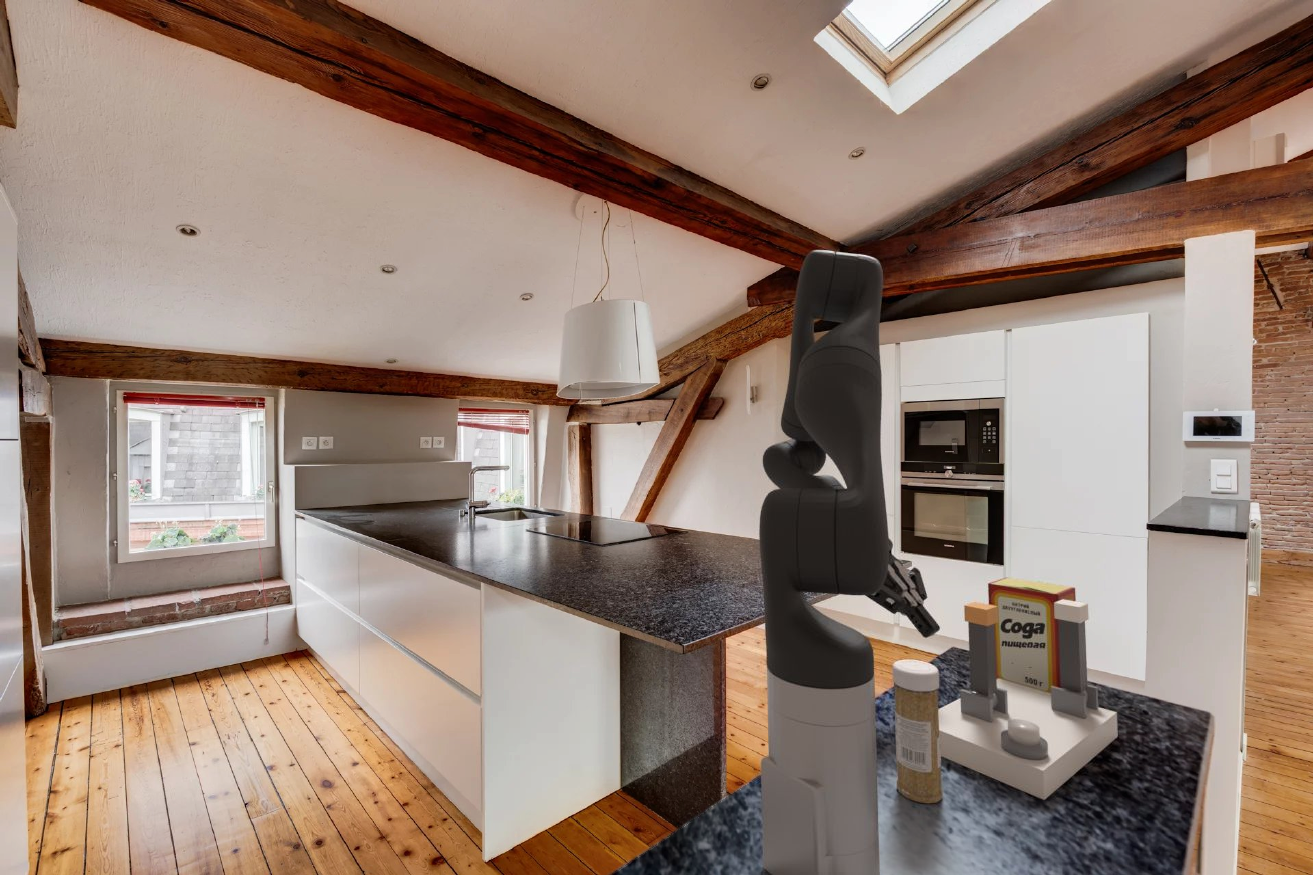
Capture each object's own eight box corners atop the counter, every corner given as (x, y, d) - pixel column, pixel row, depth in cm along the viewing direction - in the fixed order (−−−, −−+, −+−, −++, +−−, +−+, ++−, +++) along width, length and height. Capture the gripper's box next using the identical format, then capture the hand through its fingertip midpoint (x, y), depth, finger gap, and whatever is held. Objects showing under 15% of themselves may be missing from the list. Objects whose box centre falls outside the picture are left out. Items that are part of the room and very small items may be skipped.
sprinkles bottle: (951, 795, 61) (947, 666, 61) (926, 810, 58) (922, 676, 58) (911, 775, 64) (908, 654, 65) (886, 789, 62) (883, 663, 62)
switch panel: (1044, 799, 59) (1042, 743, 60) (916, 745, 71) (915, 698, 71) (1117, 736, 72) (1115, 689, 72) (999, 699, 84) (997, 658, 84)
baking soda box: (991, 684, 89) (987, 580, 89) (1009, 674, 93) (1006, 575, 93) (1062, 705, 81) (1058, 592, 82) (1079, 693, 85) (1075, 585, 86)
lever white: (1083, 712, 72) (1079, 607, 72) (1057, 705, 74) (1054, 602, 74) (1091, 706, 73) (1087, 603, 74) (1066, 699, 75) (1062, 599, 76)
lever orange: (990, 716, 71) (987, 609, 71) (967, 708, 73) (964, 605, 74) (1001, 710, 73) (997, 606, 73) (978, 702, 75) (974, 601, 75)
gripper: (841, 522, 83) (925, 627, 72) (893, 515, 90) (976, 609, 80) (812, 554, 87) (888, 658, 77) (864, 545, 95) (940, 638, 84)
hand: (933, 633), depth 78 cm, fingers closed
